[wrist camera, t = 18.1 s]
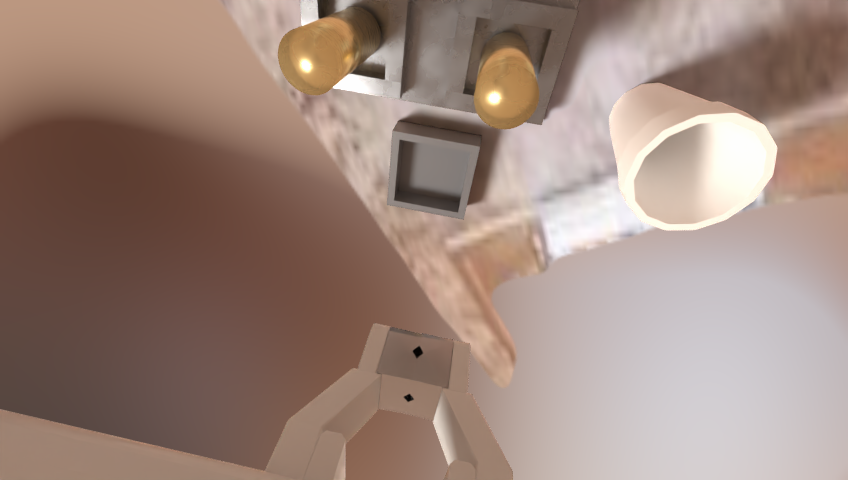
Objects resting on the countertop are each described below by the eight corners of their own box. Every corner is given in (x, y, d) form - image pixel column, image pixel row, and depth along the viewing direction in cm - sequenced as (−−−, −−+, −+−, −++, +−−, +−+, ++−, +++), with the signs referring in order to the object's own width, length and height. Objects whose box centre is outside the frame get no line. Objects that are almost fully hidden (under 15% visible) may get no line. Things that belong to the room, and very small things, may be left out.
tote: (392, 192, 48) (386, 204, 45) (398, 120, 42) (392, 130, 40) (465, 206, 47) (463, 219, 45) (481, 135, 42) (480, 146, 39)
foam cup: (686, 43, 34) (767, 85, 23) (708, 132, 38) (786, 200, 28) (578, 99, 38) (607, 154, 28) (608, 173, 42) (643, 246, 32)
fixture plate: (315, 81, 41) (303, 89, 38) (308, -47, 34) (294, -46, 32) (538, 121, 40) (541, 132, 37) (578, -3, 33) (584, 1, 31)
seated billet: (471, 56, 36) (461, 94, 27) (510, 20, 34) (514, 48, 24) (499, 92, 38) (499, 140, 28) (538, 61, 35) (552, 102, 26)
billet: (326, 31, 37) (266, 59, 27) (355, -6, 35) (301, 12, 25) (360, 68, 38) (314, 107, 29) (389, 35, 36) (350, 66, 27)
